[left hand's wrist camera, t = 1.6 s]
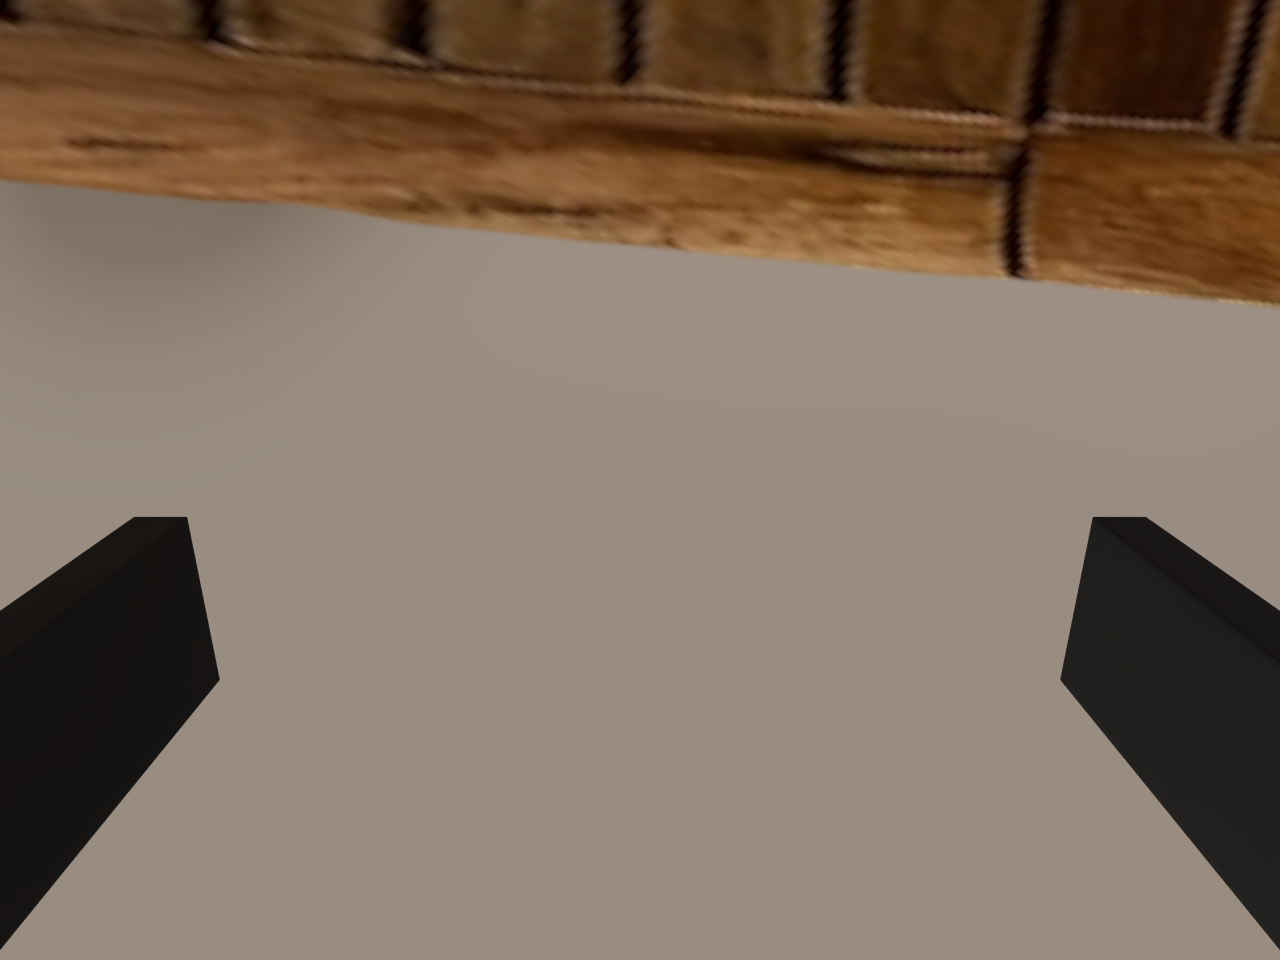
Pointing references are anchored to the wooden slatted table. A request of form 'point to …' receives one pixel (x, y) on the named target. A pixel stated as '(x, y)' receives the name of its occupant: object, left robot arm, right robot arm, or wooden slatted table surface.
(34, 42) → the wooden slatted table surface
